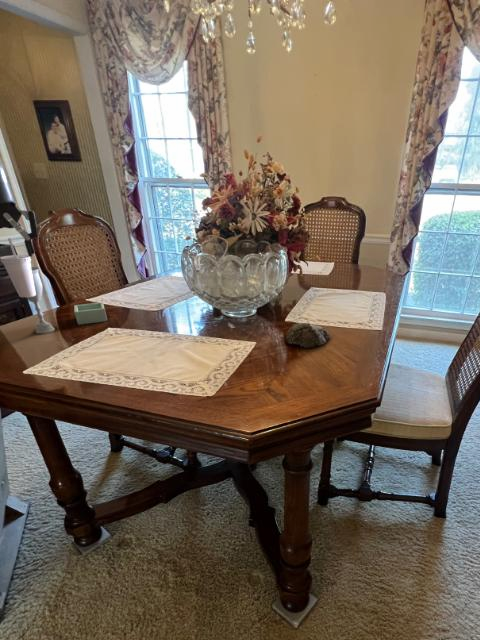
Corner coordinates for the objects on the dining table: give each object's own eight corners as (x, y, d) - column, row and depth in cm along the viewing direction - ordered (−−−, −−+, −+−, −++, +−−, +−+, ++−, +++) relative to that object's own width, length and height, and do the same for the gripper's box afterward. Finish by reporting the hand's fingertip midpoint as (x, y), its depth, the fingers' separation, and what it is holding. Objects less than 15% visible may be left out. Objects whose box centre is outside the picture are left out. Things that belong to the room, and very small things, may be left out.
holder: (78, 324, 120) (74, 312, 118) (77, 317, 127) (74, 305, 125) (107, 321, 124) (104, 308, 122) (105, 314, 130) (102, 302, 128)
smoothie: (15, 299, 96) (-5, 240, 89) (11, 295, 100) (-10, 237, 93) (44, 296, 100) (26, 238, 93) (38, 291, 104) (21, 236, 97)
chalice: (63, 329, 116) (43, 268, 107) (39, 336, 111) (17, 272, 102) (50, 325, 119) (31, 265, 111) (27, 331, 114) (5, 269, 106)
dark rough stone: (293, 331, 117) (293, 315, 114) (332, 335, 113) (332, 319, 111) (278, 345, 106) (278, 328, 104) (321, 350, 103) (321, 333, 100)
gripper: (-55, 179, 81) (-24, 261, 89) (24, 180, 87) (47, 257, 95) (-46, 179, 87) (-18, 256, 95) (27, 181, 93) (49, 253, 101)
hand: (15, 256), depth 95 cm, fingers closed on smoothie, 6 cm apart
